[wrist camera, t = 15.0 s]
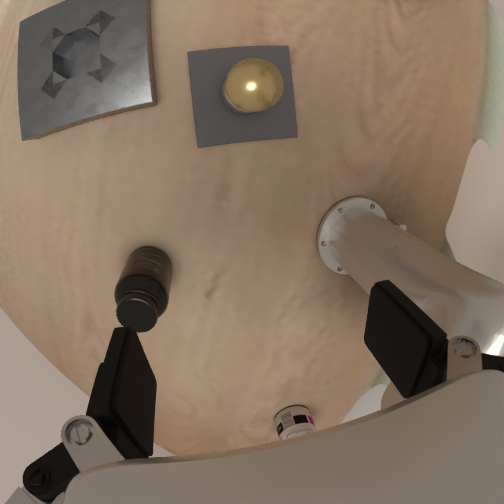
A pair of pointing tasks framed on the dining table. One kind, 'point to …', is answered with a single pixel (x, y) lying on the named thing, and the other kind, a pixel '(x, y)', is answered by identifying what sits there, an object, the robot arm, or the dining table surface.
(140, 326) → the supplement bottle
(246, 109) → the can with gold end
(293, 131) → the mat
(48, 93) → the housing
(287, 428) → the supplement can
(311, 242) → the dining table surface
